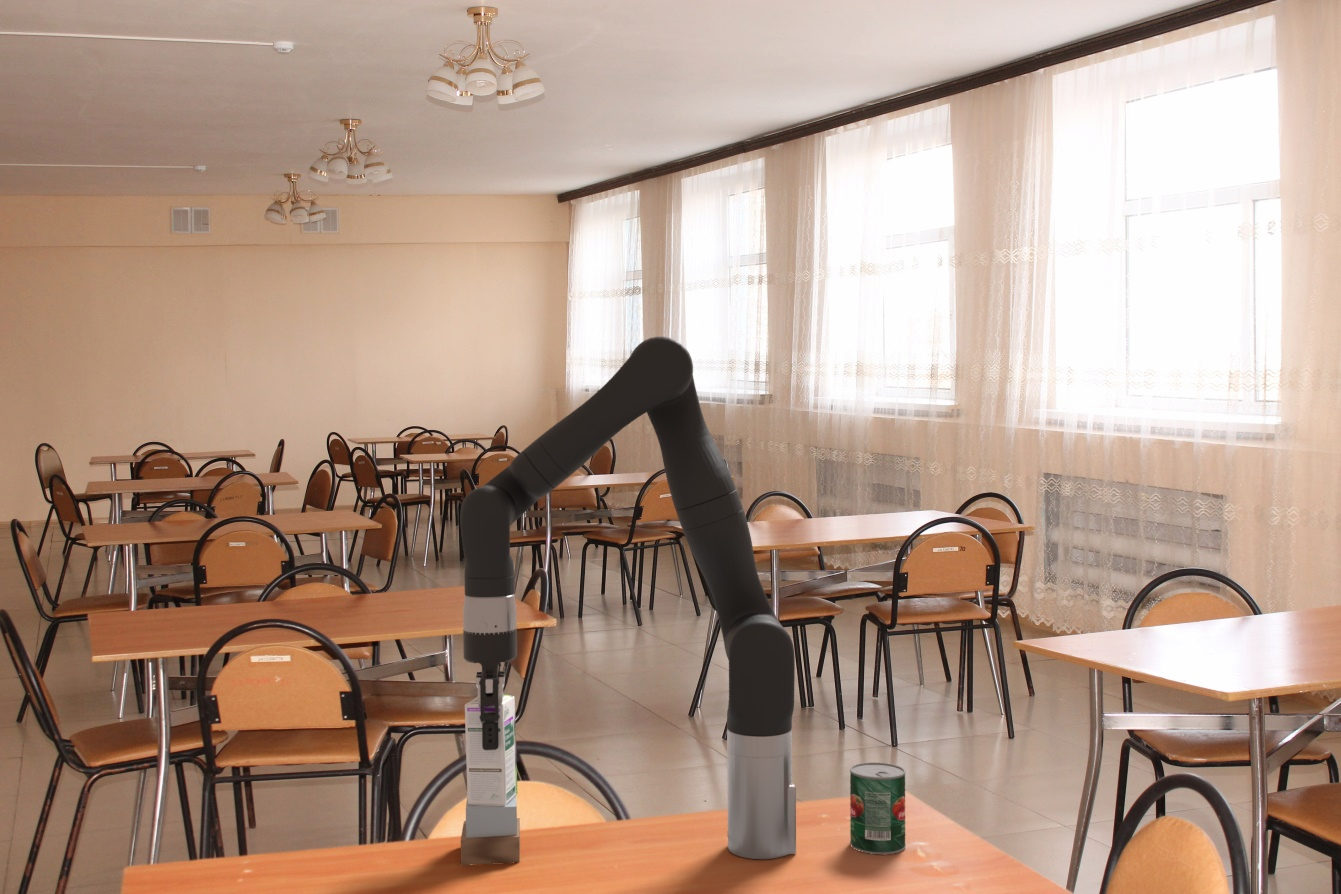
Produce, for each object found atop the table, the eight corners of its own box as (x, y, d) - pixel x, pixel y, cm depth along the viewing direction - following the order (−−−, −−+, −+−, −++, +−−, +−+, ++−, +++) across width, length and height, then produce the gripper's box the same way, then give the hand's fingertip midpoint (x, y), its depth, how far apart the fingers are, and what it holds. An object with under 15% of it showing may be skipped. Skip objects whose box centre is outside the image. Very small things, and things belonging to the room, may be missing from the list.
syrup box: (506, 807, 166) (504, 703, 166) (465, 805, 167) (464, 701, 166) (517, 794, 171) (516, 694, 171) (478, 793, 172) (477, 693, 172)
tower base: (520, 845, 173) (519, 818, 173) (519, 865, 165) (519, 836, 165) (464, 848, 172) (463, 820, 172) (461, 868, 164) (460, 839, 164)
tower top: (516, 818, 173) (516, 791, 173) (517, 834, 166) (516, 806, 166) (467, 821, 172) (467, 793, 172) (466, 837, 165) (465, 809, 165)
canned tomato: (841, 839, 174) (840, 764, 174) (890, 834, 176) (889, 760, 176) (864, 858, 166) (864, 779, 166) (915, 852, 168) (915, 774, 168)
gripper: (516, 634, 162) (517, 754, 162) (517, 617, 176) (518, 728, 177) (460, 635, 161) (461, 757, 162) (465, 619, 176) (466, 730, 176)
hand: (491, 742), depth 169 cm, fingers open, 7 cm apart
